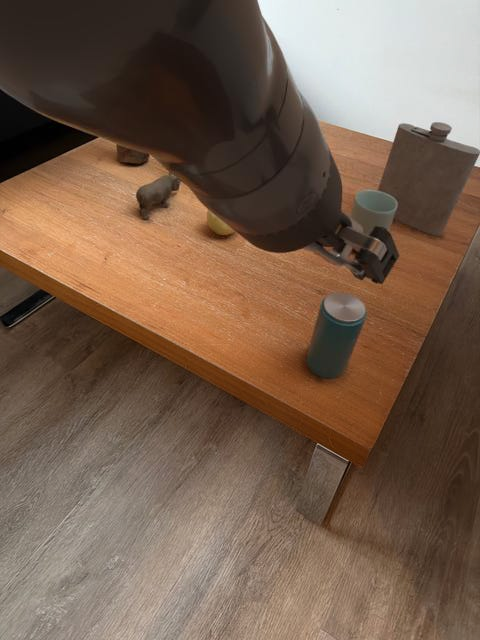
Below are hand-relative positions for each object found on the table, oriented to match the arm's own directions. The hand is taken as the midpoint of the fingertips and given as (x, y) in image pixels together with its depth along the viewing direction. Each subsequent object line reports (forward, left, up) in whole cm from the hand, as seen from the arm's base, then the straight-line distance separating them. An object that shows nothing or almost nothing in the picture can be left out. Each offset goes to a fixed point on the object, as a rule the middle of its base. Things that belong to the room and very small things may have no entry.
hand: (323, 248), depth 41 cm
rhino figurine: (+28, -46, -27) cm, 60 cm away
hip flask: (-23, -53, -27) cm, 63 cm away
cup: (-13, -41, -27) cm, 51 cm away
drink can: (-6, -10, -27) cm, 29 cm away
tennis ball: (+14, -39, -27) cm, 49 cm away
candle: (+39, -63, -27) cm, 79 cm away
